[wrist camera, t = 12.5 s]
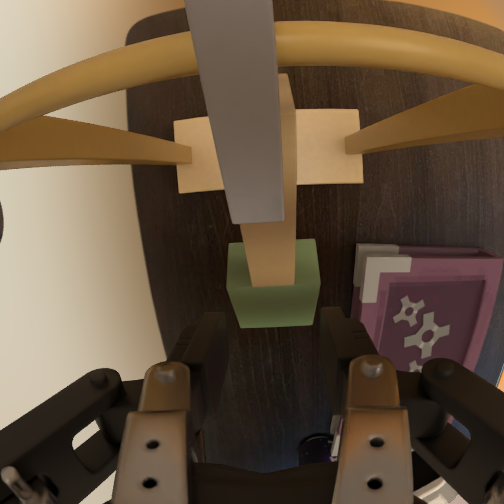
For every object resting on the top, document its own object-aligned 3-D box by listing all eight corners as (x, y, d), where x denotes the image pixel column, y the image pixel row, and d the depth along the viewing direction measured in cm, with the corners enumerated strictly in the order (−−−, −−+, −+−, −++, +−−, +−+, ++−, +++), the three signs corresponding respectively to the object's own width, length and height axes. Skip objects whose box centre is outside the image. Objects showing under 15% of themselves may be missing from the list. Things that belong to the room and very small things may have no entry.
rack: (177, 122, 28) (-54, 43, 4) (355, 111, 27) (555, -10, 2) (182, 192, 30) (-53, 274, 5) (360, 182, 29) (593, 242, 4)
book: (353, 243, 30) (366, 257, 25) (479, 246, 29) (504, 257, 24) (327, 429, 36) (331, 456, 32) (432, 416, 35) (443, 438, 31)
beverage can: (325, 459, 38) (332, 523, 27) (291, 452, 38) (292, 519, 26) (345, 437, 37) (358, 504, 25) (310, 429, 37) (316, 500, 25)
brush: (309, 287, 23) (316, 381, 19) (241, 290, 23) (239, 384, 19) (324, -35, 6) (433, 2, 2) (164, -20, 7) (43, 44, 3)
